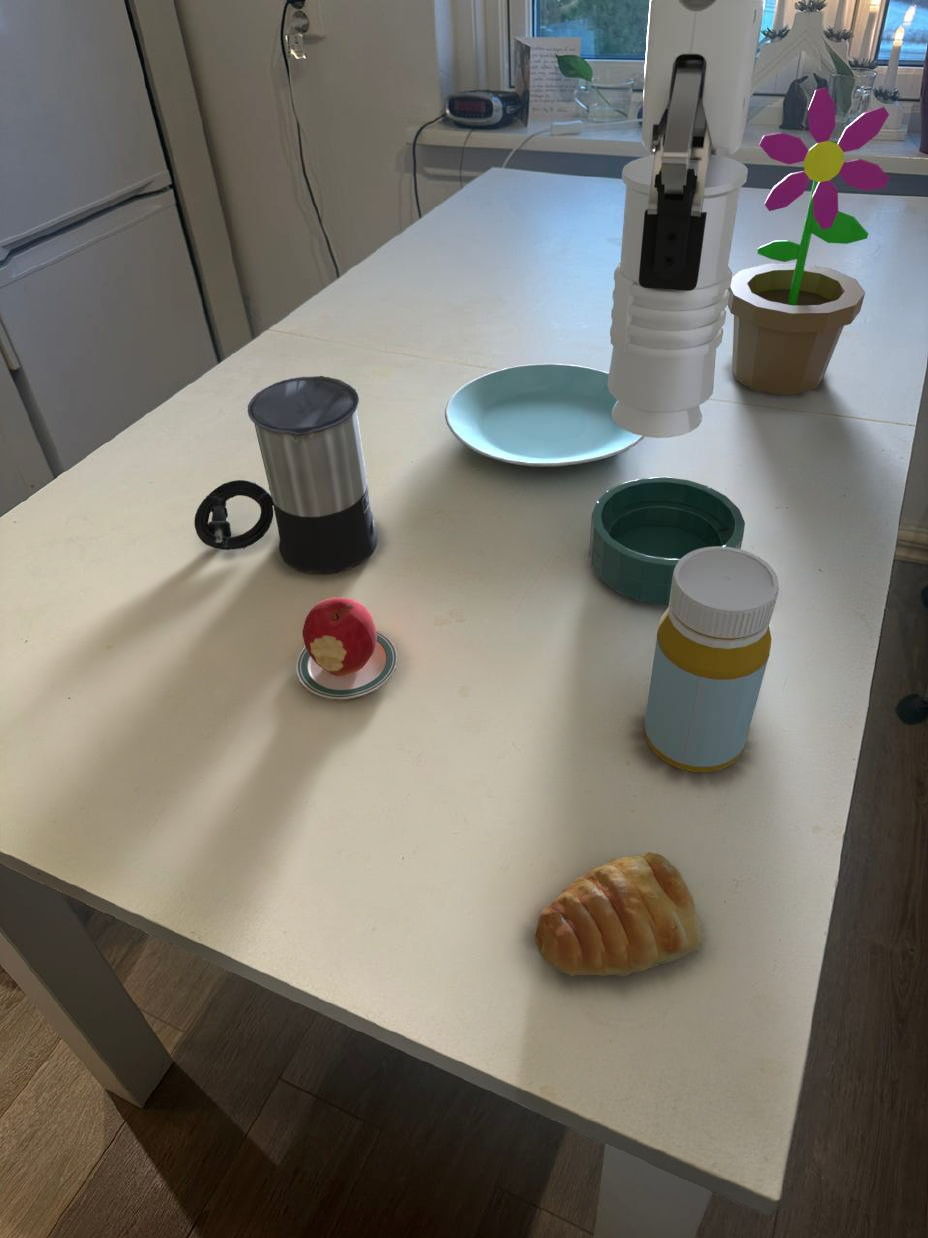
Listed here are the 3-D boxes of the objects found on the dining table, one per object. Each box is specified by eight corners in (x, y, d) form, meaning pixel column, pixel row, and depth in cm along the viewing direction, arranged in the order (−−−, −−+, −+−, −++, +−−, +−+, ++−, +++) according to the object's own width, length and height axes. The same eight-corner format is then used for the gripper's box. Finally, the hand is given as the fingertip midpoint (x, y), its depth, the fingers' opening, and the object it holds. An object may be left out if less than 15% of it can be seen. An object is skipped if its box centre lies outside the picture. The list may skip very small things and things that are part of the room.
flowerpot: (707, 395, 99) (755, 93, 79) (720, 341, 109) (766, 61, 89) (840, 410, 96) (927, 97, 75) (842, 353, 106) (918, 63, 85)
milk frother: (392, 560, 79) (373, 413, 69) (218, 608, 75) (173, 460, 65) (348, 482, 89) (326, 343, 79) (193, 521, 85) (150, 380, 75)
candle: (585, 403, 60) (597, 164, 49) (673, 382, 61) (702, 146, 51) (636, 451, 55) (662, 196, 45) (731, 426, 56) (776, 175, 46)
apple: (412, 683, 68) (405, 621, 63) (312, 716, 66) (298, 654, 61) (379, 620, 73) (370, 559, 69) (286, 649, 71) (271, 588, 67)
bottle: (738, 788, 59) (783, 625, 49) (635, 765, 61) (658, 603, 51) (747, 714, 64) (790, 552, 54) (651, 694, 66) (675, 534, 56)
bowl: (739, 533, 80) (749, 487, 77) (727, 623, 71) (738, 575, 68) (603, 514, 83) (607, 469, 80) (575, 597, 74) (578, 551, 71)
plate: (483, 373, 106) (482, 351, 104) (668, 396, 99) (670, 372, 98) (415, 470, 90) (413, 446, 88) (628, 503, 84) (630, 478, 82)
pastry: (564, 1014, 48) (566, 982, 46) (515, 911, 53) (515, 877, 51) (710, 952, 51) (720, 918, 48) (650, 859, 55) (657, 823, 53)
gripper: (807, -136, 32) (729, 330, 44) (809, -150, 45) (748, 219, 57) (605, -126, 34) (583, 319, 46) (660, -143, 46) (632, 213, 58)
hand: (674, 261), depth 51 cm, fingers closed on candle, 6 cm apart
